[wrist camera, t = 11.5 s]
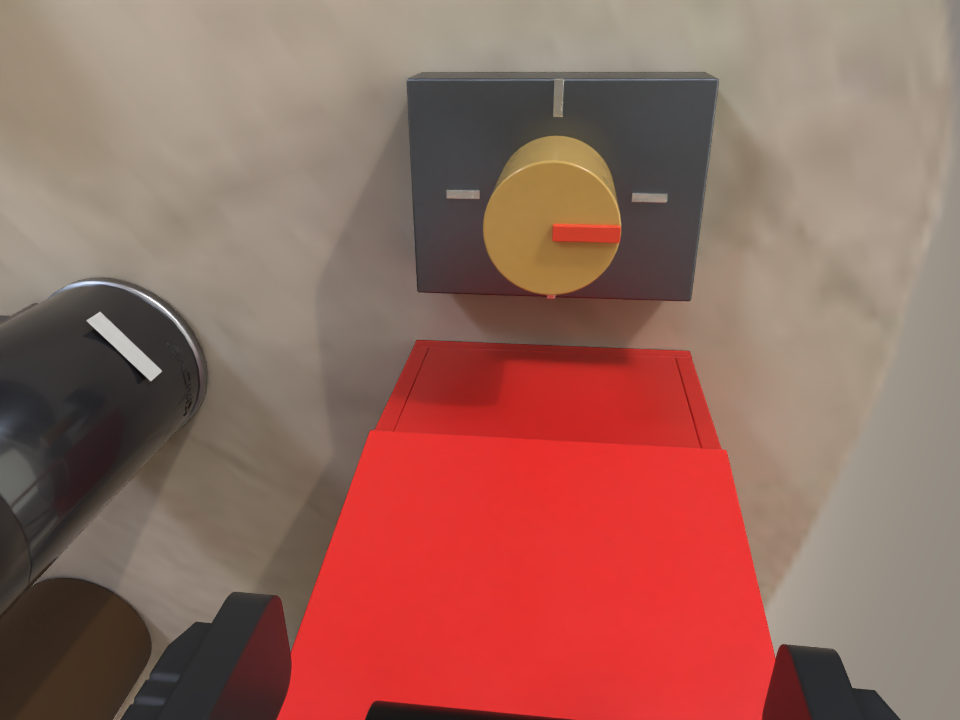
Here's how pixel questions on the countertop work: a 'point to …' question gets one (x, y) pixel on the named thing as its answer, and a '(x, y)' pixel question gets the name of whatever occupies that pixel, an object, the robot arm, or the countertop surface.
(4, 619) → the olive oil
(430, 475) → the red box lid
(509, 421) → the red lidded box
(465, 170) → the panel
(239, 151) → the countertop surface
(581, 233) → the valve knob
